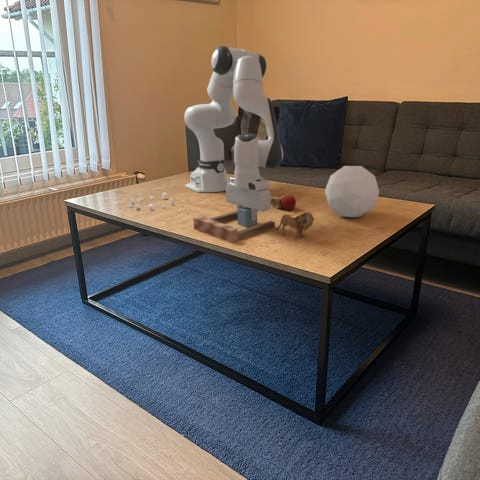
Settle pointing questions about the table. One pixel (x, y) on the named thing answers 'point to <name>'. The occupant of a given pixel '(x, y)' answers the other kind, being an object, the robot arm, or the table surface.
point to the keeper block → (245, 217)
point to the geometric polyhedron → (352, 191)
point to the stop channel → (228, 227)
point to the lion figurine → (297, 223)
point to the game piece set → (150, 204)
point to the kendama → (284, 202)
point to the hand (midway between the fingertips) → (247, 218)
